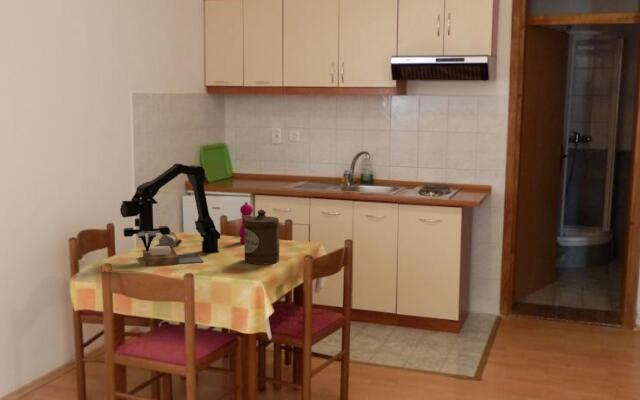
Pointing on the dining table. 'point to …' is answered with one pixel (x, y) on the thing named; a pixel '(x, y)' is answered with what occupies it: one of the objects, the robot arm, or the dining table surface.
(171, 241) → the ceramic sculpture
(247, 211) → the pepper mill
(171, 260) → the deck
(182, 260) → the mat
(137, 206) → the robot arm
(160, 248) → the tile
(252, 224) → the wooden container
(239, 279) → the dining table surface
